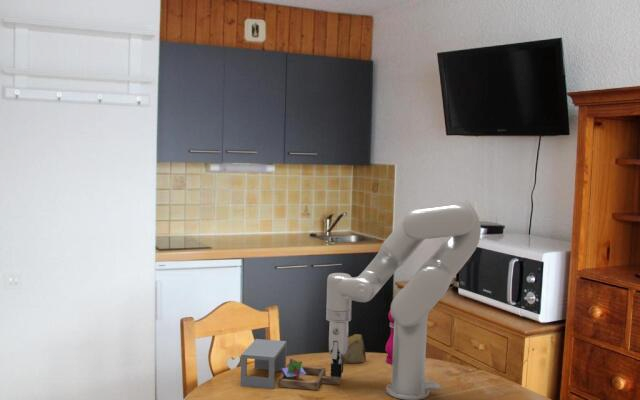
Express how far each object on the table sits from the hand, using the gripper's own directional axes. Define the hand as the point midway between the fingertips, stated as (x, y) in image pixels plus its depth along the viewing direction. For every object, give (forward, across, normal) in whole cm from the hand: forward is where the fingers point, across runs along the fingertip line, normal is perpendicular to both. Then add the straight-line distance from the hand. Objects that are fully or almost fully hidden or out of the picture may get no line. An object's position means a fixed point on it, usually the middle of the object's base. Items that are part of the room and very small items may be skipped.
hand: (336, 373), depth 205 cm
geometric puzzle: (+3, -1, +13) cm, 14 cm away
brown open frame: (+3, 0, +8) cm, 8 cm away
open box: (+3, 0, +23) cm, 23 cm away
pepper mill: (+3, +26, -16) cm, 31 cm away
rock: (+4, +23, -1) cm, 23 cm away
